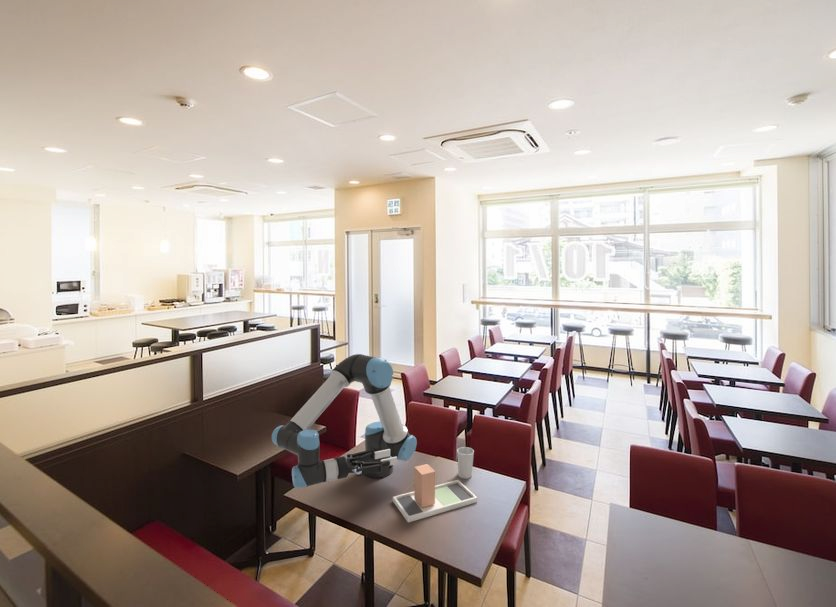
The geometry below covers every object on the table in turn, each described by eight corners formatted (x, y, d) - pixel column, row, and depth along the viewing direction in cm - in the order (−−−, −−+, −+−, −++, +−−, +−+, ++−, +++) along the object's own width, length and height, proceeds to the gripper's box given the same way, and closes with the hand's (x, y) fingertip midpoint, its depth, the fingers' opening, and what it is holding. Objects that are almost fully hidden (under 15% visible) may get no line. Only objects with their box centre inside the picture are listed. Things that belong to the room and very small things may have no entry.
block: (414, 498, 170) (414, 466, 169) (427, 495, 173) (427, 463, 172) (421, 507, 164) (421, 474, 163) (434, 503, 167) (435, 471, 165)
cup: (460, 469, 198) (460, 445, 196) (475, 473, 194) (476, 449, 193) (454, 477, 191) (454, 452, 189) (470, 481, 187) (470, 456, 186)
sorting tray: (392, 501, 171) (392, 496, 171) (458, 483, 185) (458, 479, 184) (408, 522, 157) (408, 517, 157) (477, 501, 171) (477, 497, 170)
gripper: (329, 466, 159) (384, 454, 169) (342, 491, 142) (403, 476, 152) (329, 448, 159) (384, 437, 169) (342, 471, 141) (403, 457, 151)
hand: (393, 456), depth 160 cm, fingers open, 6 cm apart
